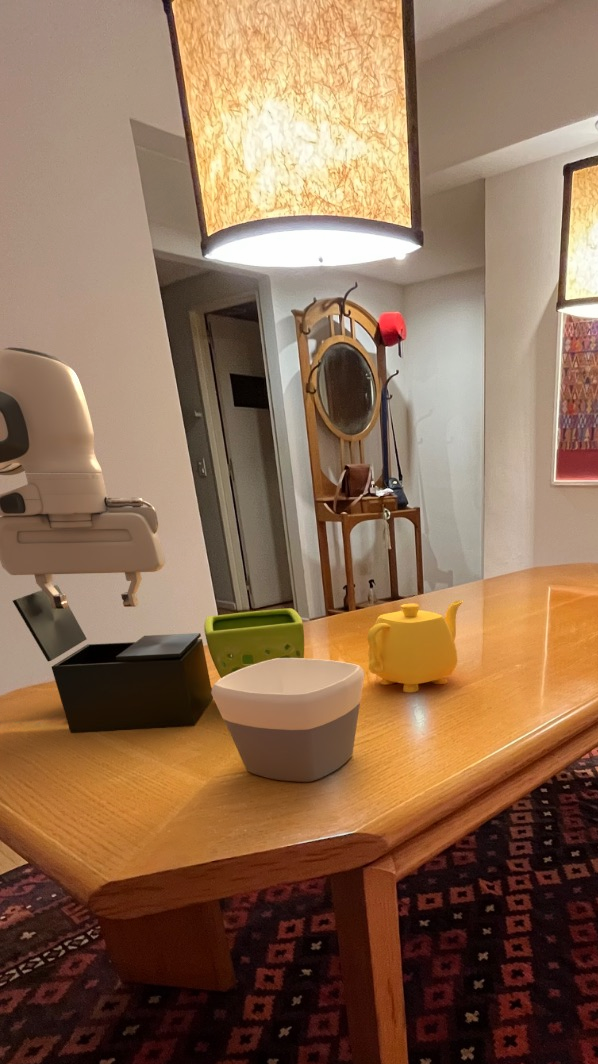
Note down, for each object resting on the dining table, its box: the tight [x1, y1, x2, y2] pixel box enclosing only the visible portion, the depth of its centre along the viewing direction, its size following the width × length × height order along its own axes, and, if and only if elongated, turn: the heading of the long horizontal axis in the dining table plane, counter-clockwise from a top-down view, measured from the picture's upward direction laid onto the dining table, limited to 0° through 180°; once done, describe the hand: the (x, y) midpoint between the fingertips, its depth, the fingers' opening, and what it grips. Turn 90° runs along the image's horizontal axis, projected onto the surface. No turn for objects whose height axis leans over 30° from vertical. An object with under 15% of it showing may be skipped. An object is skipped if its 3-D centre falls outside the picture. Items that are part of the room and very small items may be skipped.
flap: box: [12, 584, 88, 663], centre depth 94 cm, size 8×13×1 cm
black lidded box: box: [51, 632, 214, 734], centre depth 99 cm, size 17×13×10 cm
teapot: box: [367, 599, 464, 693], centre depth 111 cm, size 14×20×13 cm
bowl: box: [211, 657, 365, 783], centre depth 80 cm, size 15×15×11 cm
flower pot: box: [203, 607, 305, 679], centre depth 103 cm, size 14×14×13 cm
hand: (96, 607), depth 94 cm, fingers open, 8 cm apart
